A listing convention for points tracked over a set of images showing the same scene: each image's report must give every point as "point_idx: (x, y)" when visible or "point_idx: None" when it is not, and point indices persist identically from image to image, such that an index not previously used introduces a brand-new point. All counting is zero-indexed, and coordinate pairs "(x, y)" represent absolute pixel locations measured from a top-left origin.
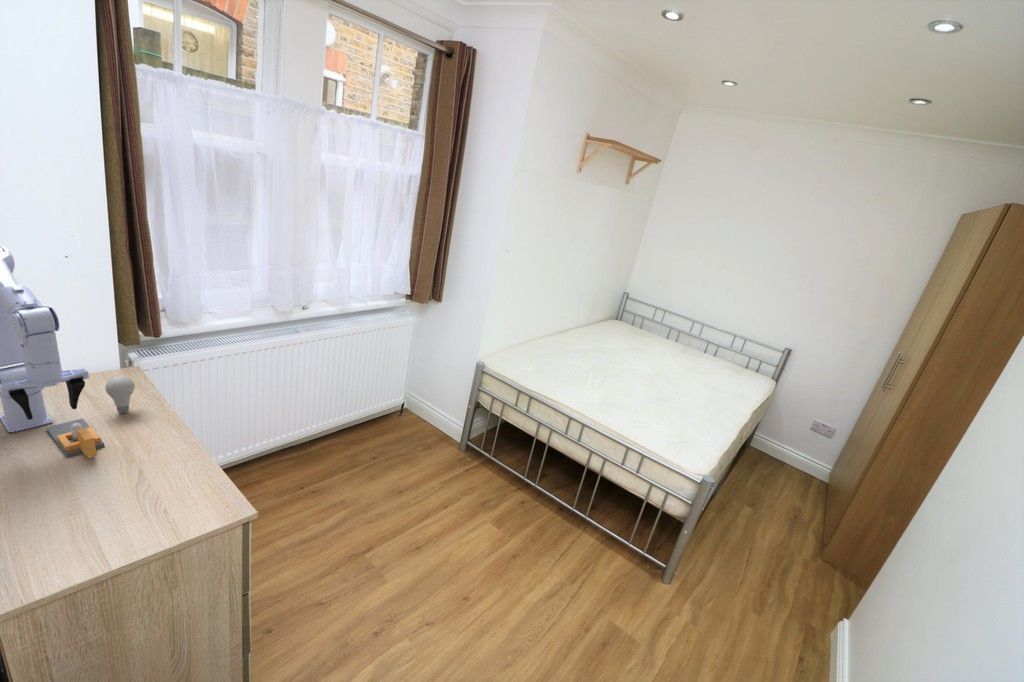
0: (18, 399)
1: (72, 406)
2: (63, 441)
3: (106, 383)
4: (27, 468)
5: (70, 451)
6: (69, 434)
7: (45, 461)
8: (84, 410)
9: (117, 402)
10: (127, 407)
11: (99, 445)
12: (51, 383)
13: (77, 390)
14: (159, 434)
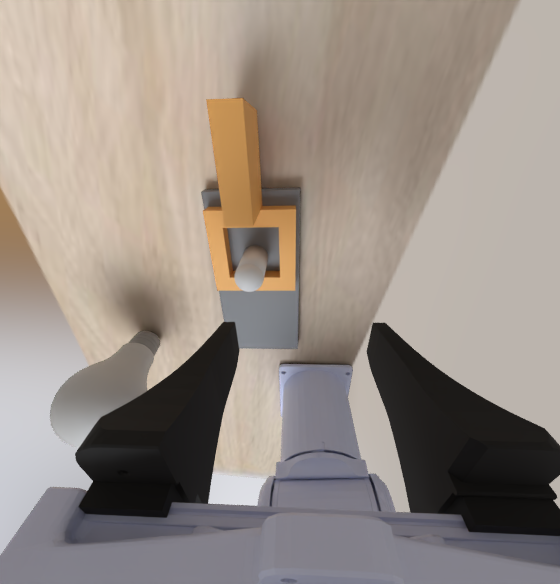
0: (525, 430)
1: (232, 334)
2: (291, 248)
3: None
4: (390, 191)
5: (287, 198)
6: (269, 279)
7: (345, 202)
8: None
9: (139, 356)
10: (132, 339)
11: (215, 191)
12: (325, 575)
13: (163, 397)
14: (53, 165)
